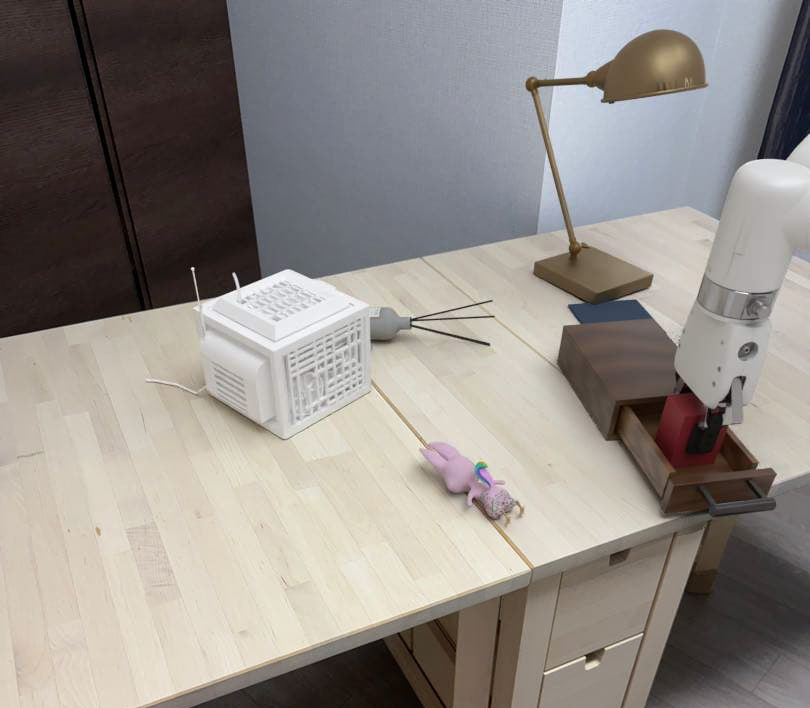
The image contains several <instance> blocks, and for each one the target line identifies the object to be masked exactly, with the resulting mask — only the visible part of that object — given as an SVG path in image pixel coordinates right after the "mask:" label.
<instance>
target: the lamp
mask: <svg viewBox="0 0 810 708" xmlns="http://www.w3.org/2000/svg"><path fill="white" fill-rule="evenodd" d="M706 74H707V73H706V65H705V59H704V57H703V54H702V51H701V49H700V47H699V46H698V44H697V43H696V42H695V41H694V40H693V39H692V38H691V37H690V36H688V35H687V34H685V33H683V32H680V31H679V30H674V29H668V28H667V29H663V28H662V29H654V30H650V31H647V32H645V33H642V34H640V35H638V36H636V37H634V38H633V39H632V40H630V41H628V42H627V43H626V44H625V45H624V46H623V47H622V48H621V49H620V50H619V51H618V52H617V53H616V55H615V56H614V58H613V59H611V60H610V61H608V62H605V64H603V65H601V66H600V67H598V68H597V69H596V70H590V71H589V72H587V74H586V75H585V76H581V77H565V78H550V79H547V78H544V79H539V78H537V77H536V76H530V77H528V78H527V79H526V80H525V89H526V91H527V92H529V93H530V94H531V97H532V100H533V104H534V107H535V112H536V115H537V120H538V123H539V128H540V131H541V135H542V139H543V143H544V146H545V151H546V155H547V159H548V163H549V166H550V170H551V175H552V178H553V183H554V186H555V189H556V193H557V198H558V201H559V205H560V209H561V213H562V217H563V221H564V225H565V227H566V228H565V229H566V234H567V237H568V242H569V245H568V251H567V252H564V253H561V254H556V255H553V256H550V257H546V258H543V259H539V260H536V261H534V265H533V272H532V273H533V275H535V276H537V277H539V278H541V279H543V280H544V281H546V282H548V283H550V284H553V285H554V286H556V287H558V288H560V289H563V290H564V291H566V292H568V293H569V294H572V295H573V296H576V297H578V298H579V299H581V300H583V301H586V303H591V304H593V305H596V304H599V303H602V302H605V301H612V300H614V299H617V298H620V297H622V296H625V295H629V294H633V293H636V292H638V291H640V290H641V291H642V290H644V289H647V288H650V287H652V284H653V281H654V280H653V279H654V276H655V275H654V273H652V272H650V271H648V270H645V269H643V268H641V267H639V266H637V265H634V264H633V263H630V262H628V261H626V260H624V259H621V258H620V257H616V256H615V255H613V254H610V253H609V252H605V251H604V250H601V249H599V248H597V247H595V246H592V245H588V244H587V243H586V242H583V241H581V242H579V241H577V238H576V235H575V232H574V228H573V224H572V220H571V215H570V212H569V208H568V203H567V201H566V196H565V192H564V189H563V185H562V181H561V176H560V173H559V169H558V165H557V162H556V161H557V160H556V157H555V153H554V149H553V145H552V141H551V137H550V134H549V129H548V125H547V122H546V118H545V114H544V110H543V106H542V102H541V97H540V94H539V93H540V92H539V89H538V88H545V87H547V88H548V87H562V86H581V85H583V86H586V87H588V88H590V89H591V88H592V89H593V88H595V87H596V88H597V89H598V90H600V91H602V92H603V97H602V98H601V99H600V103H601V104H607V103H608V105H613V104H615V103H617V102H624V101H625V102H626V101H631V100H638V99H645V98H652V97H658V96H665V95H672V94H677V93H683V92H690V91H695V90H700V89H701V90H702V89H706V88H708V87H709V82H707V77H706V76H707V75H706Z"/></svg>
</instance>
